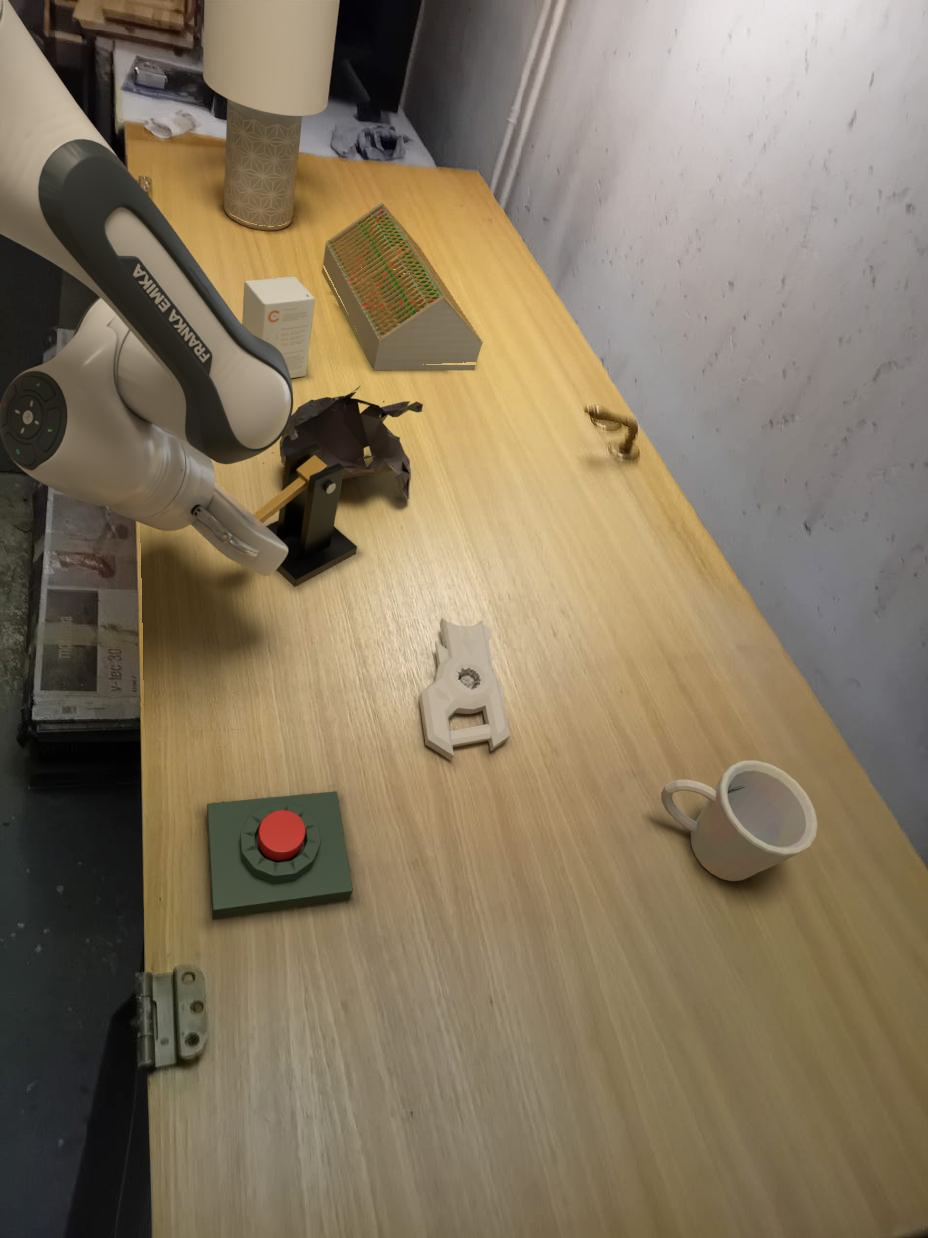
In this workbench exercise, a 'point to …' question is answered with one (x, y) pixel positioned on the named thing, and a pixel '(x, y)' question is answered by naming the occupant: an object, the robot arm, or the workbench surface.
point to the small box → (281, 318)
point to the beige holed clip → (463, 691)
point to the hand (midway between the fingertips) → (244, 518)
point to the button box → (272, 884)
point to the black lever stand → (311, 521)
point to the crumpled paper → (350, 436)
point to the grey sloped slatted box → (397, 298)
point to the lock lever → (291, 489)
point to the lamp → (267, 95)
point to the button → (281, 835)
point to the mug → (746, 819)
